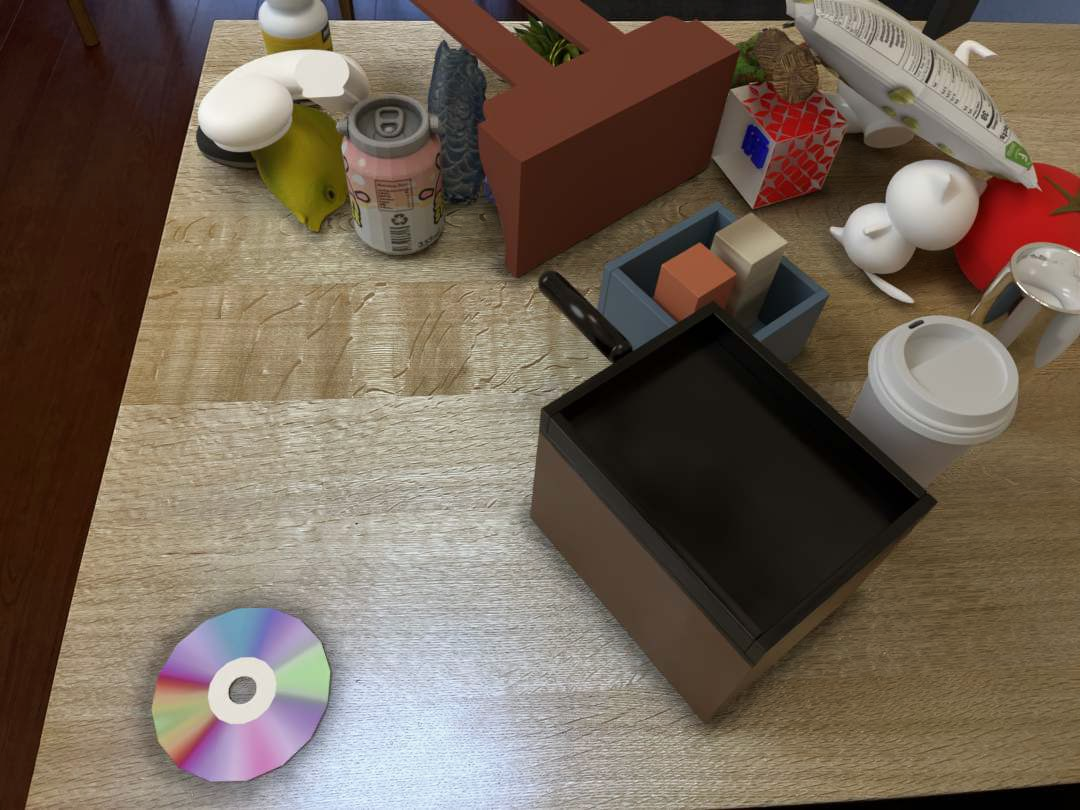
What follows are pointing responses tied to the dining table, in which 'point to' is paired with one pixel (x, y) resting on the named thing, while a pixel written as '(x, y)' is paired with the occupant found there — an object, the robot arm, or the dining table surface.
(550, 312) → the dining table surface
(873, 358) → the coffee cup
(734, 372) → the pan
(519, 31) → the potted plant
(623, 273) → the bin
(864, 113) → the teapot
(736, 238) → the cream block
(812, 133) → the red white patterned box
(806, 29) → the frozen beans
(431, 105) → the fish model
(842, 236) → the cat figurine
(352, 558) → the dining table surface
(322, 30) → the pill bottle
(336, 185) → the fish
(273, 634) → the cd
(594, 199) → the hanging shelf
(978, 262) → the tomato
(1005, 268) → the metal tumbler
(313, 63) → the sculpture
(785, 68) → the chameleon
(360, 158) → the beverage can
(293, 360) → the dining table surface
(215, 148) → the computer mouse
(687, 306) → the terracotta block
